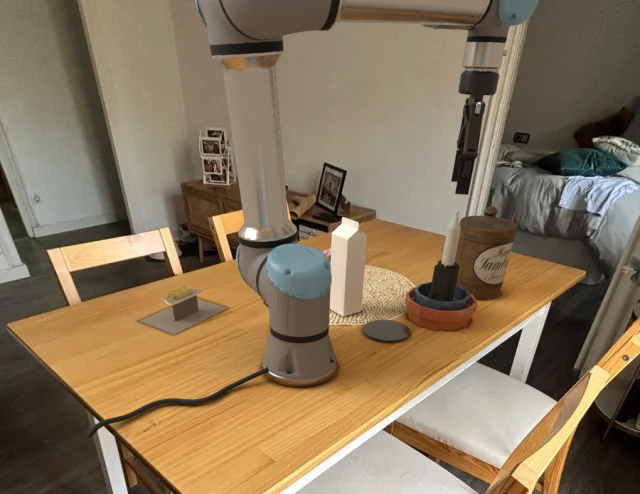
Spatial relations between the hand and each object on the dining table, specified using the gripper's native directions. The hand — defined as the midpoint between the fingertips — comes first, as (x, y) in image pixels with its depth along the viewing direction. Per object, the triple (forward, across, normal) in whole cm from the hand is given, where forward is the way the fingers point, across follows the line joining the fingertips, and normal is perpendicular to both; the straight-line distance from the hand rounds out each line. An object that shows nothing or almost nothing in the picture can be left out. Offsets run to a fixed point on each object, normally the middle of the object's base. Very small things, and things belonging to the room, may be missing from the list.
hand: (459, 187), depth 108 cm
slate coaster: (+29, -17, +13) cm, 36 cm away
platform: (+29, -18, +62) cm, 71 cm away
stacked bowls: (+29, -6, 0) cm, 29 cm away
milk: (+29, -7, +24) cm, 38 cm away
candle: (+29, -6, 0) cm, 29 cm away
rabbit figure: (+29, +32, +31) cm, 53 cm away
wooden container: (+29, +15, -11) cm, 34 cm away
